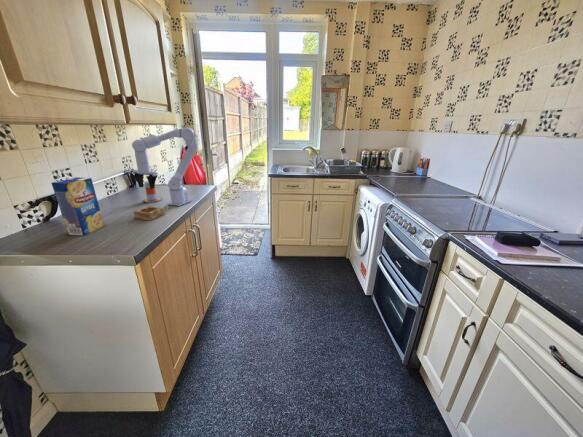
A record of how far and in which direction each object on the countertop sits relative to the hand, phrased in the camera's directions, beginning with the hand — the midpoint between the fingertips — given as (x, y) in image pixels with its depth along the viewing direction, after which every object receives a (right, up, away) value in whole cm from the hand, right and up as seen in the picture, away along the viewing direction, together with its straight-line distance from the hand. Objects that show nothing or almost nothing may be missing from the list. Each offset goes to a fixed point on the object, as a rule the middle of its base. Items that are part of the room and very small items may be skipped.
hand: (147, 187), depth 137 cm
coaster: (-4, -6, +13) cm, 15 cm away
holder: (+9, -16, -13) cm, 22 cm away
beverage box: (-9, -23, -30) cm, 38 cm away
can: (-4, -6, +13) cm, 14 cm away
